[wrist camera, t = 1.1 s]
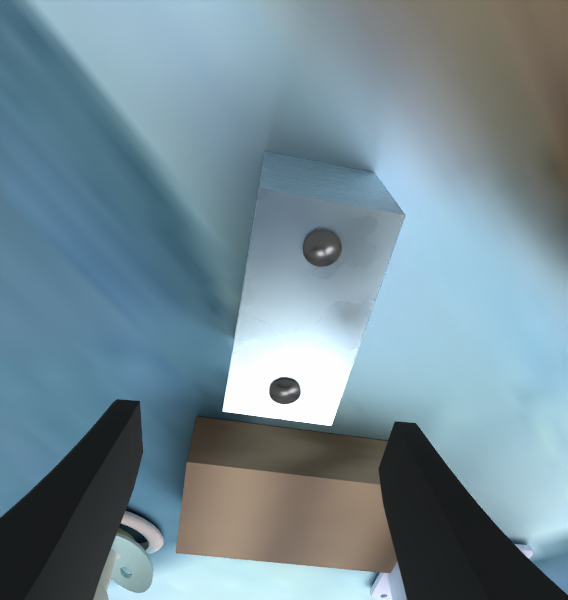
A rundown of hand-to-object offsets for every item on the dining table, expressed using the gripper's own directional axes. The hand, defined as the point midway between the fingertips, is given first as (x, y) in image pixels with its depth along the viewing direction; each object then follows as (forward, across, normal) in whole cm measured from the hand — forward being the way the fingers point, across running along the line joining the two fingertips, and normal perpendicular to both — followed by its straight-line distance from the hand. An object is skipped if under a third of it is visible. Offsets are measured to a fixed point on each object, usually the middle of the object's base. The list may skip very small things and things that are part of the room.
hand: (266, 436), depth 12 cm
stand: (+8, -3, +13) cm, 16 cm away
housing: (+9, -1, -1) cm, 9 cm away
